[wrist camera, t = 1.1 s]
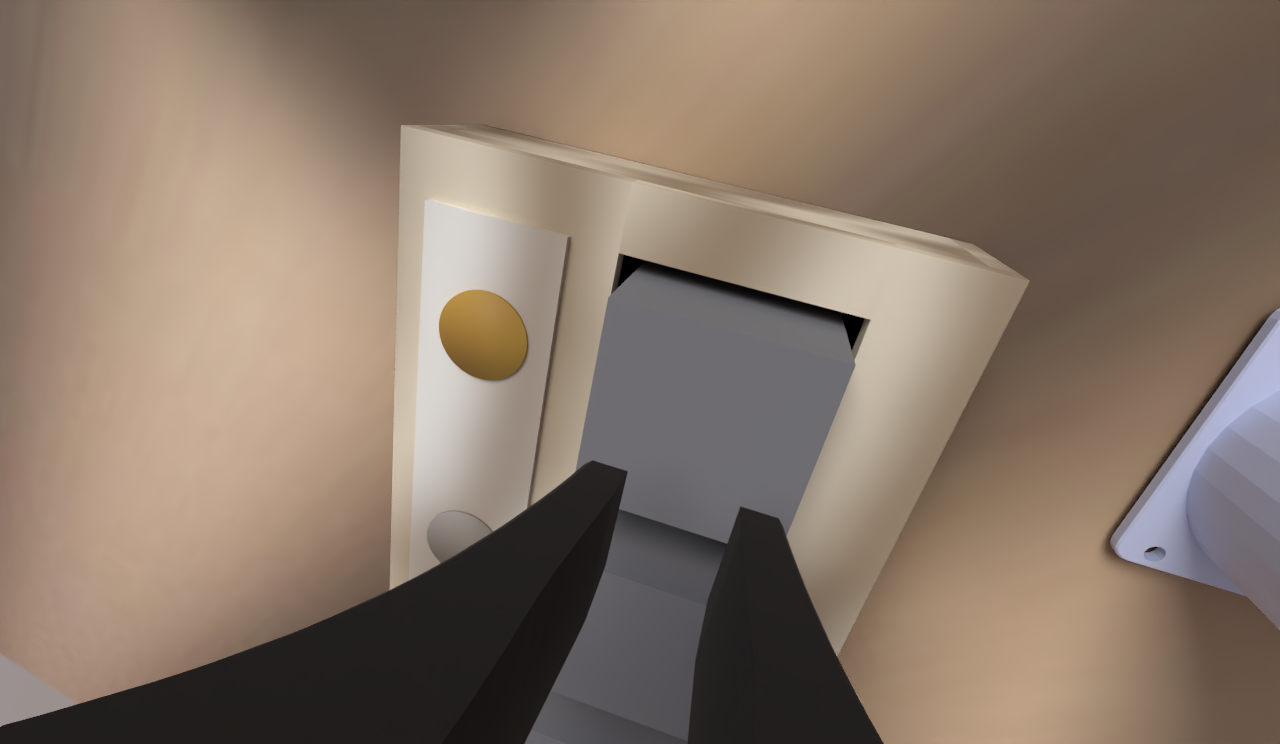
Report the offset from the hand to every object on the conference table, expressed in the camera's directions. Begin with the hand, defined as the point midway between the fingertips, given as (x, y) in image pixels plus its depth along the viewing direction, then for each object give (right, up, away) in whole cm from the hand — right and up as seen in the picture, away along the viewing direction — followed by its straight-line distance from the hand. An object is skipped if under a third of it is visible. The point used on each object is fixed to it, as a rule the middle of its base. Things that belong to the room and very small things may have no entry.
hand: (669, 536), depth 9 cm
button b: (0, -4, +9) cm, 10 cm away
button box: (-1, -2, +12) cm, 12 cm away
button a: (+2, +3, +6) cm, 7 cm away
